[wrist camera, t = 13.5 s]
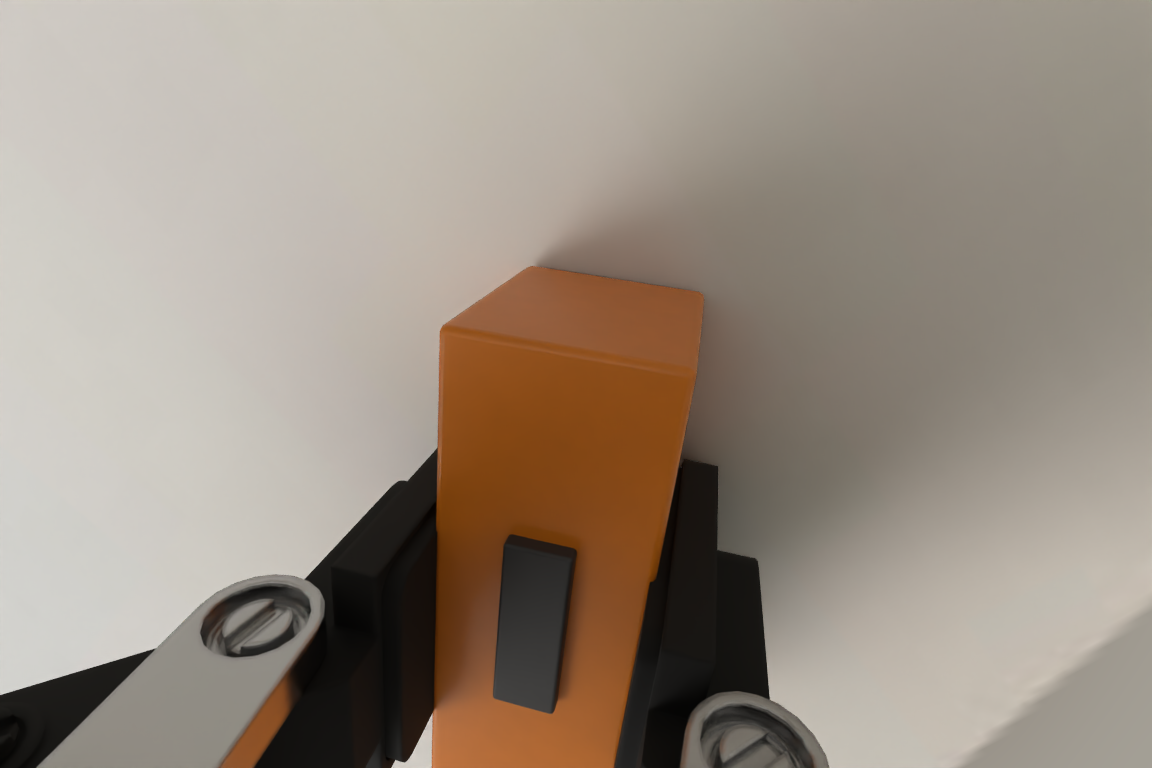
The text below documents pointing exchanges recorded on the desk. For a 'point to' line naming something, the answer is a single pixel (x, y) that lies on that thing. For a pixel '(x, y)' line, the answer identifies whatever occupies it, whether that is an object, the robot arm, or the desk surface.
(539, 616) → the orange block with switch
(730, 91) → the desk surface
